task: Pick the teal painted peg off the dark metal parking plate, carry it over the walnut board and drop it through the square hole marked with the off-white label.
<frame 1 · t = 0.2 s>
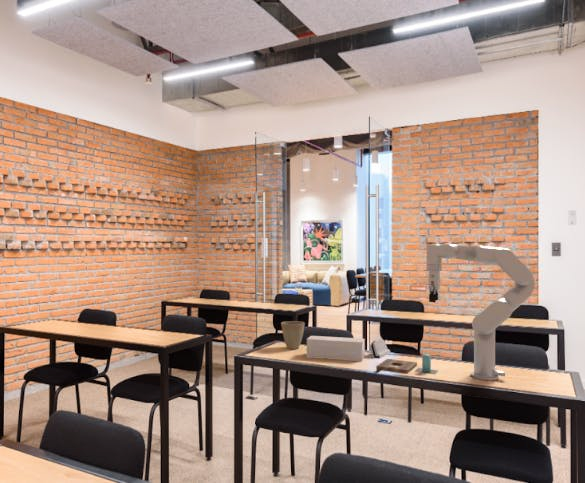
hand: (433, 301, 235), 36 cm above the table, tool pointing down, fingers open, 9 cm apart
long grey foam brick: (335, 357, 263), on the table
peg: (426, 371, 228), point 1 cm above the table, touching parking plate
hole board: (397, 370, 235), on the table
plant pot: (292, 348, 286), on the table
parking plate: (426, 374, 227), on the table
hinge: (379, 355, 269), on the table
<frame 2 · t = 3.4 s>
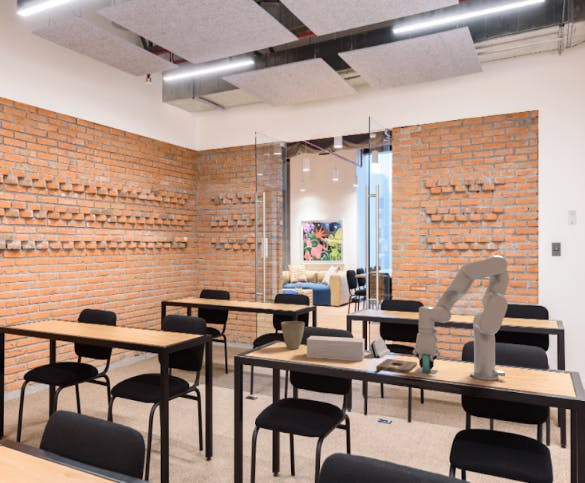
hand: (426, 367, 228), 3 cm above the table, tool pointing down, fingers closed on peg, 4 cm apart
peg: (426, 371, 228), point 1 cm above the table, touching gripper, parking plate
everything else where it was.
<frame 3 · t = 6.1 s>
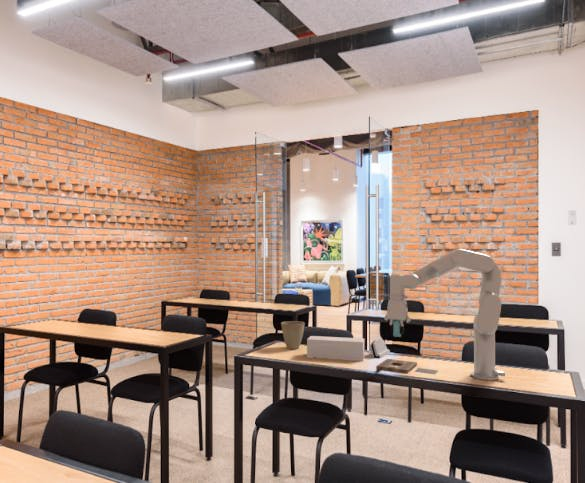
hand: (397, 332, 235), 19 cm above the table, tool pointing down, fingers closed on peg, 4 cm apart
peg: (397, 336, 235), point 18 cm above the table, touching gripper
everything else where it was.
when the fingers open (6 cm above the table, at t = 8.9 s): peg drops 4 cm, resting in hole board.
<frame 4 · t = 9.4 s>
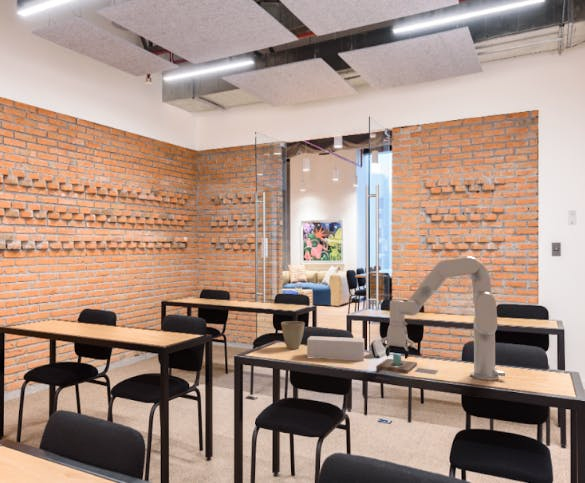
hand: (397, 357, 235), 7 cm above the table, tool pointing down, fingers open, 9 cm apart
peg: (397, 370, 235), resting in hole board
everything else where it was.
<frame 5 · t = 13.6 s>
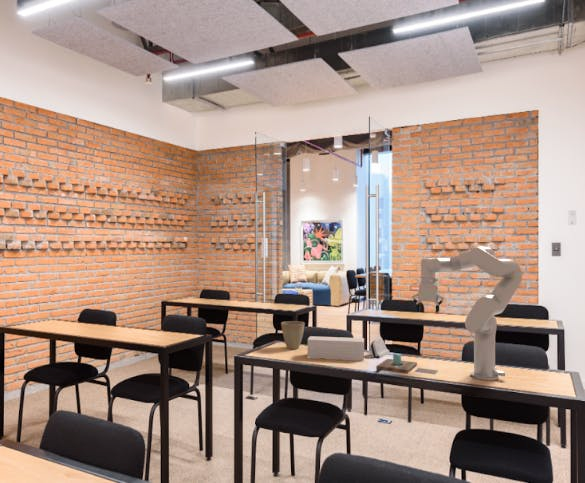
hand: (427, 312, 248), 28 cm above the table, tool pointing down, fingers open, 9 cm apart
at the end: peg 0.1 cm off-centre on the hole board, point 0.0 cm above the hole board's base; peg tilted 0°; the gripper is holding nothing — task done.
